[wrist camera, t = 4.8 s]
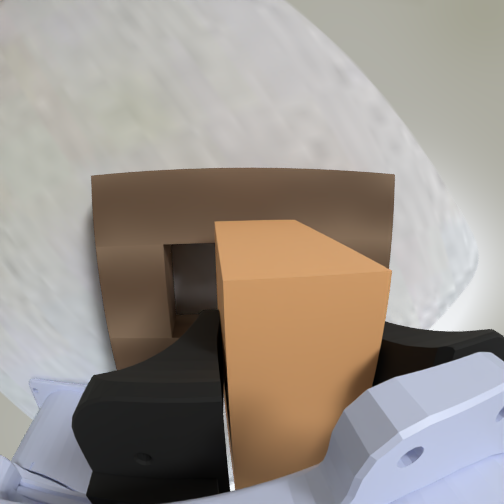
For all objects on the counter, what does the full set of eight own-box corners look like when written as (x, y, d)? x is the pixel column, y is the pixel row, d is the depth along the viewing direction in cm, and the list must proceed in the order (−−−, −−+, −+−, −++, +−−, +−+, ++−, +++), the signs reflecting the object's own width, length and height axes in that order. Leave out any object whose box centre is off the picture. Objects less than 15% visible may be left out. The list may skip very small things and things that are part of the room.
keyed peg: (294, 219, 14) (392, 271, 6) (289, 357, 16) (345, 477, 8) (214, 221, 13) (223, 280, 6) (220, 362, 15) (236, 495, 7)
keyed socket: (354, 347, 21) (372, 369, 18) (131, 362, 19) (121, 388, 16) (369, 173, 18) (394, 174, 15) (109, 175, 16) (91, 175, 13)
